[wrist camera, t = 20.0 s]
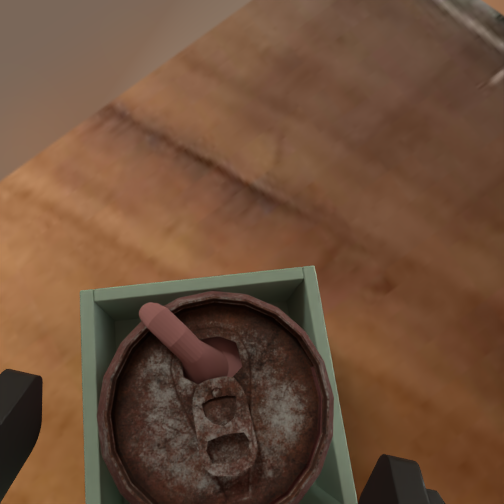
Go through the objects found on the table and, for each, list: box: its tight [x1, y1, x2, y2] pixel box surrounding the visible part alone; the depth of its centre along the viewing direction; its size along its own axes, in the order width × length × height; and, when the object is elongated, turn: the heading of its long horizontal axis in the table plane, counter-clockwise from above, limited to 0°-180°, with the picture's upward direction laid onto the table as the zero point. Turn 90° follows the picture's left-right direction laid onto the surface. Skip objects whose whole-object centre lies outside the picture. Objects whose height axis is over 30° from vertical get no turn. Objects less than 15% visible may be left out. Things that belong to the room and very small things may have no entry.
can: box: [97, 291, 334, 504], centre depth 18 cm, size 6×6×14 cm
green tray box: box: [80, 266, 358, 504], centre depth 23 cm, size 11×11×6 cm
